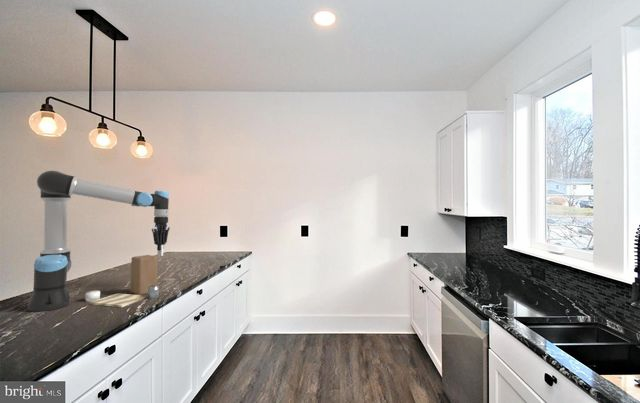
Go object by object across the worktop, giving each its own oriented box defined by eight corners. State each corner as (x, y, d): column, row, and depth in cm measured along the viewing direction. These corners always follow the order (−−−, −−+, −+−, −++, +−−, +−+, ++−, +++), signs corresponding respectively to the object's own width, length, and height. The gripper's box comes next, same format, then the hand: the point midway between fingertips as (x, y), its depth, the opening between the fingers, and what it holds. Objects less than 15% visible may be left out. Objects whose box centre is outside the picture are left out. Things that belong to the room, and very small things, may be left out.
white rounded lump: (82, 301, 151) (82, 293, 151) (93, 297, 157) (93, 290, 157) (92, 302, 150) (92, 294, 150) (102, 298, 156) (103, 291, 156)
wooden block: (157, 291, 170) (158, 256, 171) (138, 296, 162) (140, 258, 162) (147, 289, 176) (149, 254, 176) (129, 292, 167) (130, 256, 168)
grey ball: (145, 298, 158) (146, 287, 158) (152, 295, 163) (152, 284, 163) (154, 299, 157) (154, 287, 157) (160, 296, 162) (161, 285, 162)
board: (89, 304, 147) (90, 302, 147) (117, 295, 163) (117, 293, 163) (121, 307, 143) (121, 305, 144) (146, 297, 159) (147, 295, 159)
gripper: (159, 216, 174) (158, 257, 174) (173, 216, 187) (173, 254, 187) (147, 216, 176) (146, 257, 175) (163, 215, 189) (162, 253, 188)
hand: (160, 255), depth 181 cm, fingers closed
